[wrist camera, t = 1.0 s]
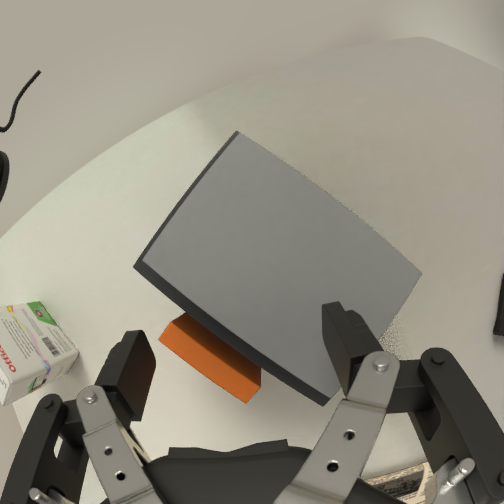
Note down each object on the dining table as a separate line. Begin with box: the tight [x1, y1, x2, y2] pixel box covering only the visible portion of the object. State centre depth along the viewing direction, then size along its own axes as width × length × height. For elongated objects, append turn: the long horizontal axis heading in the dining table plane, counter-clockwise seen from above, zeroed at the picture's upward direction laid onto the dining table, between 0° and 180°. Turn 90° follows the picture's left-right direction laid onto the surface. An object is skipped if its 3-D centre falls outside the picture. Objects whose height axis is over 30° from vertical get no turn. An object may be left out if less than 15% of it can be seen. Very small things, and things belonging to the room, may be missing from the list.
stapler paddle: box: [158, 312, 261, 403], centre depth 19 cm, size 2×7×5 cm, turn 53°
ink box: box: [0, 302, 79, 406], centre depth 21 cm, size 8×5×12 cm, turn 48°
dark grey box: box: [133, 131, 422, 406], centre depth 20 cm, size 10×14×12 cm
